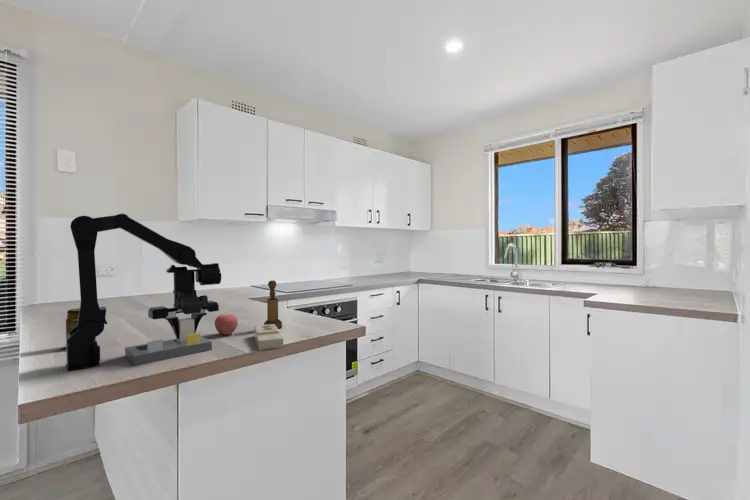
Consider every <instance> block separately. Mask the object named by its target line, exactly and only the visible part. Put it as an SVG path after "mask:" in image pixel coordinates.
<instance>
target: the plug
mask: <svg viewBox="0 0 750 500" xmlns="http://www.w3.org/2000/svg"><path fill="white" fill-rule="evenodd" d="M178 328H179V339H177V338H176V337H175V339H177V343H178V344H180V343H185V342H186V335H190V334H196V332H195V330H194V319H192V318H191V317H183V318H178Z"/></svg>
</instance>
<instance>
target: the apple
mask: <svg viewBox="0 0 750 500" xmlns="http://www.w3.org/2000/svg"><path fill="white" fill-rule="evenodd" d="M238 322H239V321H238V318H237V316H236V315H234V314H232V313H227V311H225V313H221V314H219V315H218V316H217V317H216V318H215V319H214V327H215V330H216V331H217V332H218V333H219V334H220V335H223V336H225V335H231V334H232V333H234V332H235V330H236V329H237V326H238Z"/></svg>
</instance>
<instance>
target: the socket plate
mask: <svg viewBox="0 0 750 500" xmlns="http://www.w3.org/2000/svg"><path fill="white" fill-rule="evenodd" d="M212 343H213V342H212V341H211V340H210V339H207V338H206V337H203V336H201V333H200V332H195V334H190V335H186V342H185V343H180V344H178V343H177V339H176V338H171V339H166V340H163V339H156V340H151V341H150V340H148V341H147V342H146V343H142V344H137V345H132V346H125V347H124V355H125V358H127V360H129V362H131V363H132V364H133V365H134V366H139V365H144V364H149V363H154V362H159V361H163V360H168V359H174V358H179V357H183V356H187V355H192V354H193V355H194V354H197V353H203V352H207V351H212V350H213V344H212Z"/></svg>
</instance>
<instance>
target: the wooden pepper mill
mask: <svg viewBox="0 0 750 500" xmlns="http://www.w3.org/2000/svg"><path fill="white" fill-rule="evenodd" d="M267 286H268V287H269V289H270V290H269V297H270V298H269V297H268V298H267V302H266V303H267V319H266V320H265V321H264V323H263V325H268V324H275V325H276V327H277V328H278V330H280V329H282V328H283V322H282V321H281V320H280V319H279V299H278V298H276V294H277V292H275V289H276V288H277V287H276V286H277V282H276V281H275V280H269V281H268V283H267Z"/></svg>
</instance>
